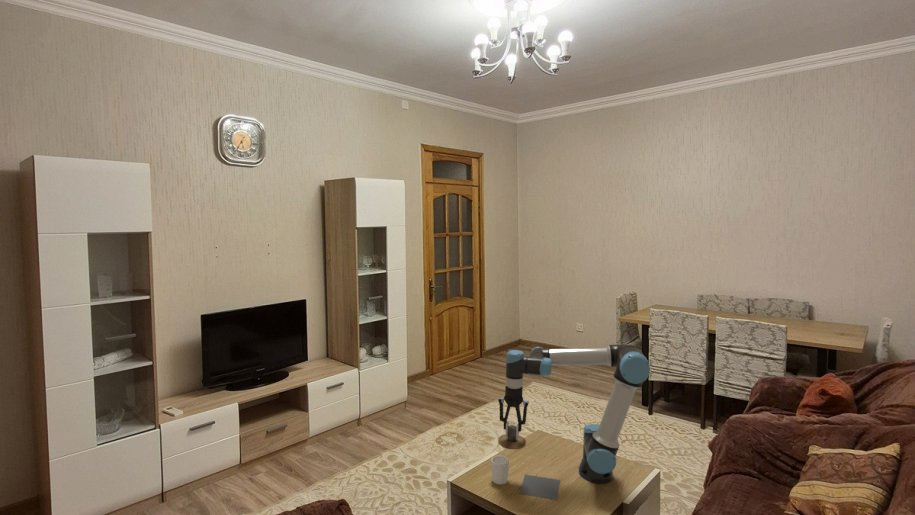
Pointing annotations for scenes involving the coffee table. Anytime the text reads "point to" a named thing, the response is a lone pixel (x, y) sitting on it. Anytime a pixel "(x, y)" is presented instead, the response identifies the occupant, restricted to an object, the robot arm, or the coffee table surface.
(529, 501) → the coffee table surface
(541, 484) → the mat
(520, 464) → the coffee table surface
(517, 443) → the lid
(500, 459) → the white cup
